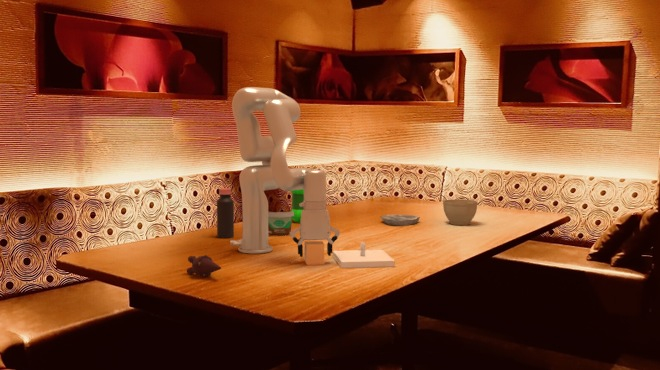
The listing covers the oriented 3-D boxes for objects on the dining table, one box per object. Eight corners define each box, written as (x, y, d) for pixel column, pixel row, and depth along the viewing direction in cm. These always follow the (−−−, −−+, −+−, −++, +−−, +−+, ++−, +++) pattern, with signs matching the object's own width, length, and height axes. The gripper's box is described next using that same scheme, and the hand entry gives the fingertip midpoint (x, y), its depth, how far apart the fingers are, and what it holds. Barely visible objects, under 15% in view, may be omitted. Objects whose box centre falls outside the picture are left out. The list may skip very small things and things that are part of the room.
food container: (267, 237, 265) (267, 213, 264) (265, 234, 271) (265, 210, 269) (296, 235, 268) (296, 212, 267) (293, 233, 274) (293, 210, 273)
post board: (341, 268, 212) (342, 248, 211) (332, 256, 229) (333, 238, 229) (394, 266, 215) (394, 247, 214) (381, 255, 232) (382, 237, 232)
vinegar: (230, 238, 260) (230, 190, 257) (214, 238, 261) (214, 189, 259) (236, 235, 266) (235, 188, 264) (220, 235, 268) (220, 187, 265)
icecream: (230, 257, 197) (198, 254, 206) (213, 255, 192) (180, 252, 201) (228, 280, 196) (195, 276, 205) (210, 278, 191) (177, 275, 200)
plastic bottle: (311, 223, 297) (311, 170, 295) (288, 223, 298) (288, 170, 295) (312, 220, 307) (312, 168, 305) (290, 220, 308) (290, 168, 305)
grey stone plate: (395, 219, 316) (395, 213, 316) (424, 223, 305) (425, 216, 305) (371, 224, 301) (372, 217, 301) (402, 228, 290) (402, 221, 290)
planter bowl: (474, 221, 309) (475, 199, 308) (479, 227, 293) (479, 203, 292) (441, 220, 310) (441, 198, 309) (443, 226, 294) (444, 203, 293)
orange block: (306, 264, 216) (306, 244, 215) (304, 260, 222) (304, 240, 221) (324, 264, 217) (324, 244, 216) (321, 260, 223) (321, 240, 222)
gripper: (290, 208, 212) (291, 258, 214) (341, 206, 215) (341, 257, 216) (288, 205, 219) (288, 254, 221) (338, 204, 222) (338, 252, 224)
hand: (315, 255), depth 219 cm, fingers open, 9 cm apart
